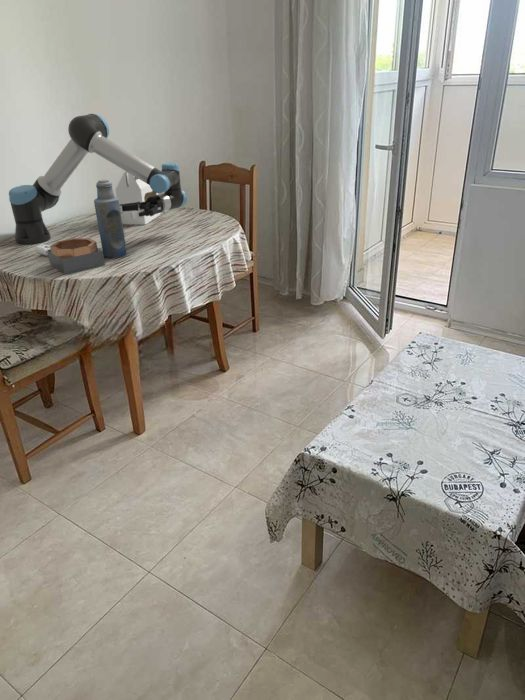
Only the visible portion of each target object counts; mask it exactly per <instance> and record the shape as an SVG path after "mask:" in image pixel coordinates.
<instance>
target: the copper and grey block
mask: <svg viewBox="0 0 525 700" xmlns="http://www.w3.org/2000/svg"><path fill="white" fill-rule="evenodd" d="M46 252H47V256H48V261H49V265H50V266H51V267H52V268H54V269H56V270H58V271H59V272H60V273H62V274H63V275H65V276H66V275H70V274H73V273H74V272H75V273H78V272H82V271H86V270H91V269H95V268H100V267H104V266H106V263H105V257H104V255H103V250H102V249H101V248H98V243H97V241H95V240H94V239H92V238H87V237H86V238H85V237H83V238H82V237H81V238H76V237H74V238H67V239H63V240H58V241H55V242H54V243H53V244H50V246H49V249H47V250H46Z"/></svg>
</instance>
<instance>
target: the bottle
mask: <svg viewBox="0 0 525 700" xmlns="http://www.w3.org/2000/svg"><path fill="white" fill-rule="evenodd" d="M95 186H96V194H97V196H96V197H97V198H94V200H93V204H94V209H95V214H96V221H97V222H96V223H97V225H98V226H97V227H98V232H99V237H100V243H101V244H100V245H101V248H102V249H101V250H102V251H103V256H104V258H109V259H116V258H122V257H125V256H126V255H128V252H127V251H128V250H127V245H126V239H125V238H126V237H125V231H124V226H123V225H124V224H122V218H121V211H120V204H119V199H118V198H117V196H115V195H114V190H113V183H112V181H110V179H100V180H97V182H96V184H95Z"/></svg>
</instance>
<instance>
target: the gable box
mask: <svg viewBox="0 0 525 700" xmlns="http://www.w3.org/2000/svg"><path fill="white" fill-rule="evenodd" d="M156 195H159V193H156V192H154V191H153V190H152V189H151V187H150V185H148V184H147V183H145V182H143V181H142V180H140V179H138V178H137V177H135V176H133V175H132V174H130V173H128V172H126V171H124V172H123V174H122V176H121V178H120V180H119V182H118V183H117V186H116V187H115V197H117V198H118V199H119V204H127V203H135V202H140V203H142V202H146V200H147V198H148V197H151V196H156ZM138 209H139V208H138ZM139 210H140V209H139ZM131 212H135V211H123V212H122V213H121V218H122V224H123V225H133V224H134V225H135V226H136V225H137V226H140V225H141V226H143V225H144V226H145V225H147V224H148V223H150V222H151V221H153V220H155V219H156V218H157V217H159V216H161V213H158V214H155V215H153V216H150V215H149V216H146V215H145V216H144V217H140V218H137V219H132V218H131Z"/></svg>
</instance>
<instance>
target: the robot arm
mask: <svg viewBox="0 0 525 700" xmlns="http://www.w3.org/2000/svg"><path fill="white" fill-rule="evenodd" d="M109 134H110V129H109V124H108V122H107V120H106V119H105V118H104V117H103V116H101V115H99V114H97V113H88V114H84V115H78V116H75V117H73V118H72V119H71V120H70V121H69V124H68V135H69V137H70V140H69V141H68V142H67V144H66V145H65V147H64V148H63V149H62V151H61V152H60V154H59V155H58V156H57V157H56V159H55V160H54V161H53V163H52V164H51V166H50V167H49V169H47V171H46V172H45V174H44V175H40V176H38V177H37V179H36V180H35V181H34V182H33V184H23V185H22V184H21V185H19V186H15V187H12V188H10V190H9V191H8V197H9V198H8V200H9V203H10V206H11V210H12V214H13V220H14V222H15V230H14V241H15V243H16V244H19V245H33V244H41V243H45V242H47V241H49V240H51V238H52V237H51V232H50V231H49V229H48V227H47V226H46V224H45V223H44V219H43V215H42V212H44V211H47V210H49V209H52V208H53V207H55V206H56V205H57V204H58V203H59V200H60V196H61V195H62V190H61V189H62V187H63V186H64V184H65V183H66V182H67V181H68V179H69V178H70V177H71V176H72V174H73V173H74V171H75V170H77V168H78V166H79V165H80V164H81V162H82V161H83V160H84V158H85V157H86V156H87V154H88V153H90V154H93V153H94V154H96V155H98V156H99V157H101V158H103V159H105V160H106V161H108V162H109V163H111V164H112V165H115V166H116V167H118V168H119V169H121V170H122V171H123V170H124V172H128V173H130V174H132V175H133V177H134V178H135V177H137V178H138V179H140V180H142V181H143V182H145V183H147V184H148V185H150V187H151V189H152V190H153V191H154V192H156V193H158V195H156V196H151V197H148V198H147V200H146V202H142V203H140V202H135V203H127V204H120V211H121V213H122V212H123V211H135V212H131V218H132V219H137V218H140V217H144V216H145V215H146V216H149V215H150V216H153V215H155V214H158V213H160V214H161V213H164V214H165V213H166V212H167V211H171V210H175V209H179V208H181V207H184V206H185V205H186V204H187V202H188V196H187V194H186V192H185V191H184V190H183V189H182V187H181V185H182V184H181V176H180V172H181V171H180V165H179V163H176V162H164V163H163V164H161V170H159V169H158V168H156V167H155V166H154V165H152V164H150V163H148V162H147V161H145V160H143V159H142V158H140V157H138V156H137V155H135V154H134V153H132V152H130V151H128V150H127V149H125V148H124V147H123V146H120V145H118V144H117V143H115V142H113V141H112V140H110V139H108V137H109ZM138 208H139V209H140V210H139V209H138Z"/></svg>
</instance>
